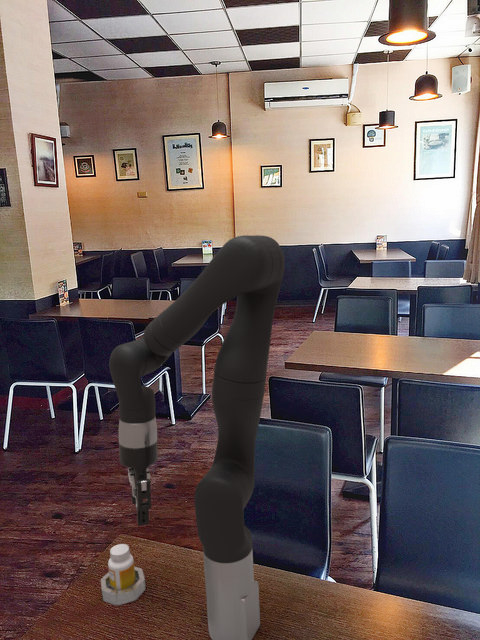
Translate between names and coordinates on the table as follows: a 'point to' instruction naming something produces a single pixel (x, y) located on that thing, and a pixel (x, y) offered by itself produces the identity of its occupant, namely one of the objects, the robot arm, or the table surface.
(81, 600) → the table surface
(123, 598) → the ring holder
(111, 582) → the supplement bottle
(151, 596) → the table surface
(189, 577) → the table surface
